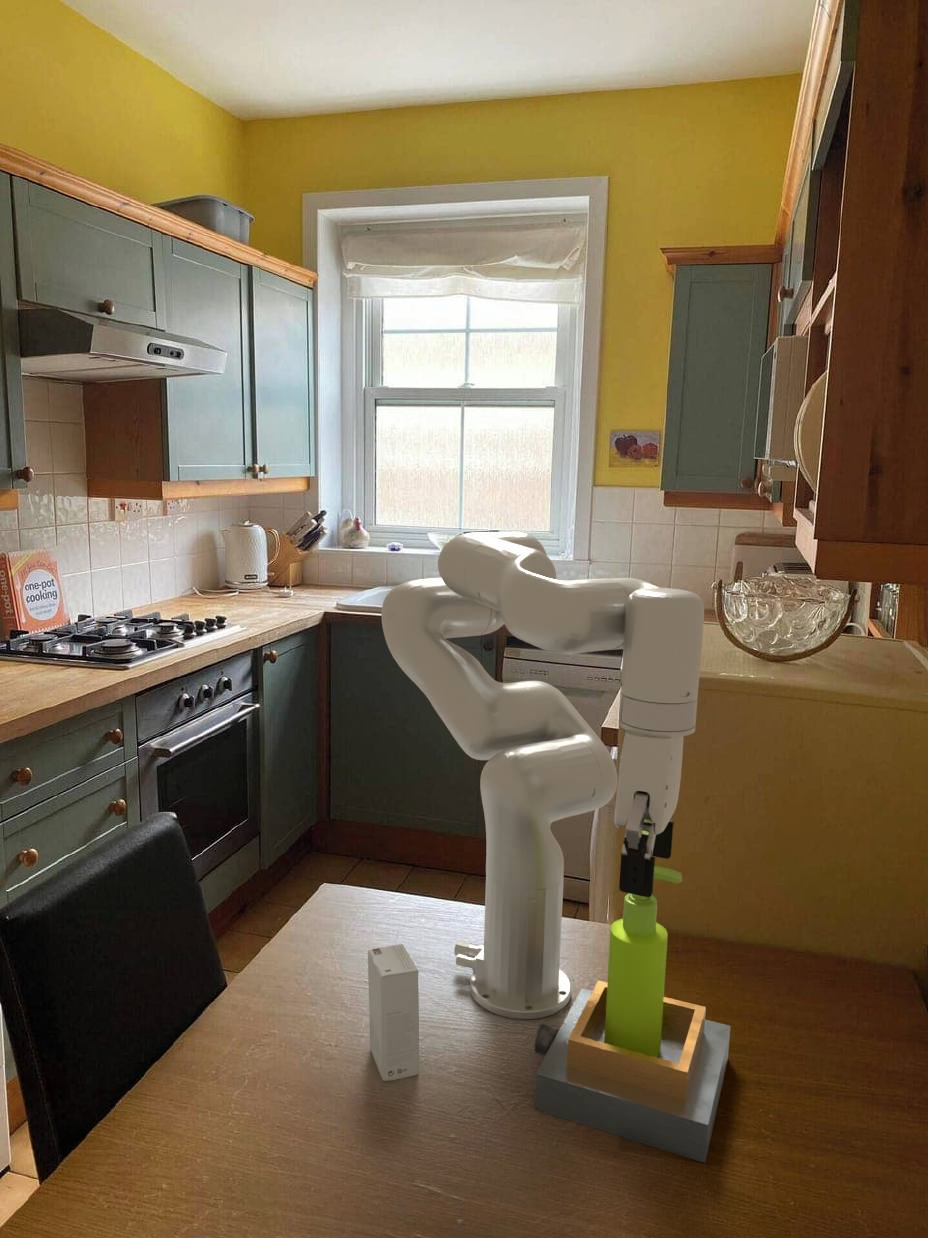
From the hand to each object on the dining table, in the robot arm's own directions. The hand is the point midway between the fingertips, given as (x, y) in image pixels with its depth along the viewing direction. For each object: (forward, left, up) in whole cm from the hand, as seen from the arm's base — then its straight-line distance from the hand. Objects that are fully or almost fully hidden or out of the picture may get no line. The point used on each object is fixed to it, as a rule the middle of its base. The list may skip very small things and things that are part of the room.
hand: (646, 873), depth 92 cm
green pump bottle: (0, 0, -20) cm, 20 cm away
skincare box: (-25, -8, -24) cm, 35 cm away
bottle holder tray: (-1, 0, -24) cm, 24 cm away
